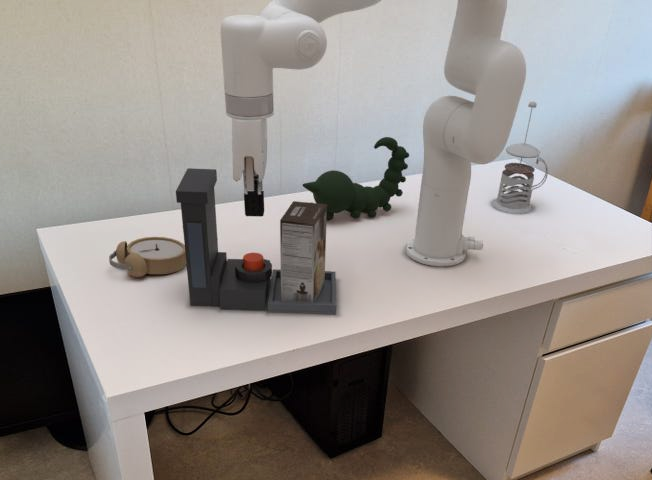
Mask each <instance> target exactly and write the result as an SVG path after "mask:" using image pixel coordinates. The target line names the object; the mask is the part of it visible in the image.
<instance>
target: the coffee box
mask: <svg viewBox="0 0 652 480" xmlns="http://www.w3.org/2000/svg"><path fill="white" fill-rule="evenodd" d="M326 219H327V204H317V203H316V202H307V201H295V200H294V201H292V202H291V204H290V205H289V207H288V208H287V210H286V211H285V213H284V214H283V215H282V216H281V218H280V219H279V237H280V238H279V239H280V240H279V242H280V244H279V245H280V248H279V249H280V270H281V302H310V303H315V302H316V300H317V298H318V296H319V294H320V292H321V290H322V288H323V286H324V284H325V271H326V248H327V220H326Z"/></svg>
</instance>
